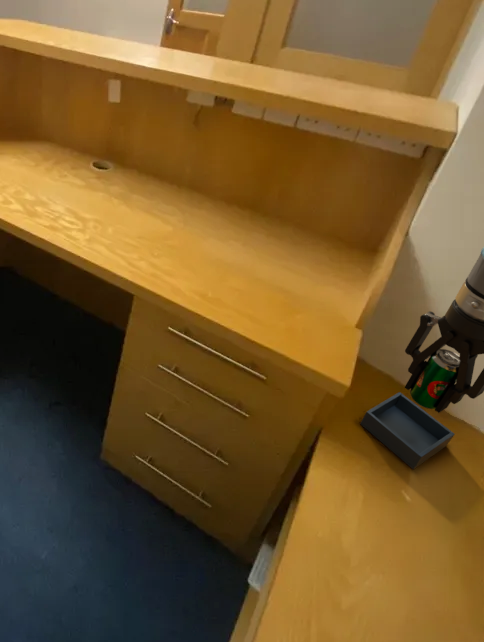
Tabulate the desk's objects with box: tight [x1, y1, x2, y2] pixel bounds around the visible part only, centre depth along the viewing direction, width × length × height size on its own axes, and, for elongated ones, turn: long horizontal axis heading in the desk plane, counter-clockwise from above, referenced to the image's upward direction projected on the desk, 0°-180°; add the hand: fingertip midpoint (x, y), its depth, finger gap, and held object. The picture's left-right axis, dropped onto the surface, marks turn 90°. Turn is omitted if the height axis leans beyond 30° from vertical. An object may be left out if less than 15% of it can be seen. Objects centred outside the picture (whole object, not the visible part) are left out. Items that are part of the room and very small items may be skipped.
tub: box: [359, 391, 456, 470], centre depth 105 cm, size 11×11×4 cm
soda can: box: [409, 348, 460, 410], centre depth 97 cm, size 5×5×12 cm
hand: (425, 397), depth 100 cm, fingers closed on soda can, 5 cm apart
